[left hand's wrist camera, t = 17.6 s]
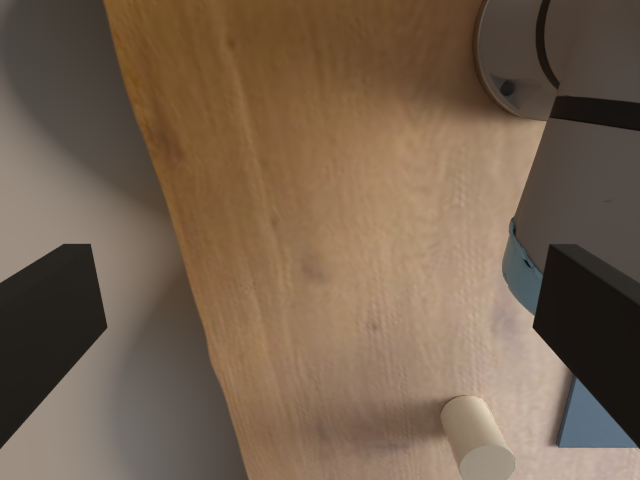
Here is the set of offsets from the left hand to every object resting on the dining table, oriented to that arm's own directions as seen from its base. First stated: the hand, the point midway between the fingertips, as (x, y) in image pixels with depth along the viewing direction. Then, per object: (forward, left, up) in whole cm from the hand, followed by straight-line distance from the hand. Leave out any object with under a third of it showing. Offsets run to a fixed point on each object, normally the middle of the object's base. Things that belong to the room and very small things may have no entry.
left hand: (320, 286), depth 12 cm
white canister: (+35, +19, -33) cm, 52 cm away
